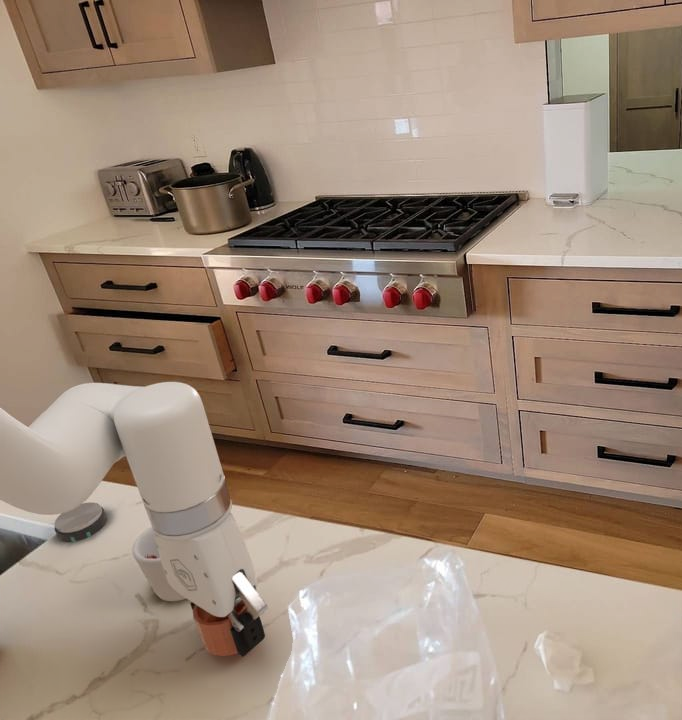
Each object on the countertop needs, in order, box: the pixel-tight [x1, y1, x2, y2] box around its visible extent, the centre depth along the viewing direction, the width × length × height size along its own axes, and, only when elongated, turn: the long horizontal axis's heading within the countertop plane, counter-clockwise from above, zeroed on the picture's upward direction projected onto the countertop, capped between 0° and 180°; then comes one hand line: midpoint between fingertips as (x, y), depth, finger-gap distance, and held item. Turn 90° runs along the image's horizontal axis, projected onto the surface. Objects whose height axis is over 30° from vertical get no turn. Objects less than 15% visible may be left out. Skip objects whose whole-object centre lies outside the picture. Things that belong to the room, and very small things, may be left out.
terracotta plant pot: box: [192, 593, 248, 657], centre depth 74 cm, size 6×6×5 cm
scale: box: [54, 502, 108, 543], centre depth 97 cm, size 6×6×3 cm
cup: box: [132, 526, 187, 602], centre depth 85 cm, size 11×8×8 cm
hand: (231, 632), depth 75 cm, fingers closed on terracotta plant pot, 6 cm apart
